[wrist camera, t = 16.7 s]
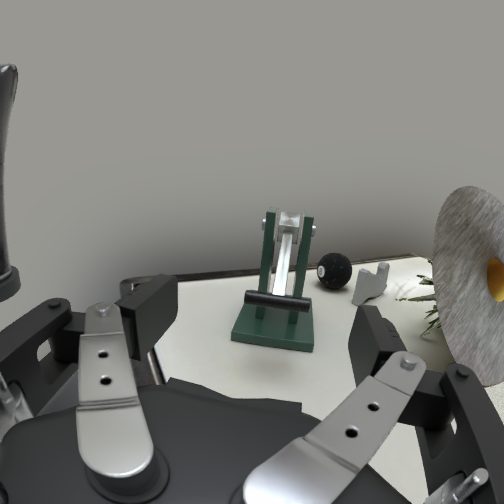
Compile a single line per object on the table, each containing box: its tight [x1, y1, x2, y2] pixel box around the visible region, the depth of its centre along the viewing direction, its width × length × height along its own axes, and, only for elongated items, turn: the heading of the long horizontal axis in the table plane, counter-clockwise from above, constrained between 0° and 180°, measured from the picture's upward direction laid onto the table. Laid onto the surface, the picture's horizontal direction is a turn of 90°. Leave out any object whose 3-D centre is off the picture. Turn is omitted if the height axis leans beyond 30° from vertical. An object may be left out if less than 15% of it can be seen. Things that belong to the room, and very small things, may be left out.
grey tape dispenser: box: [352, 262, 390, 306], centre depth 44 cm, size 6×1×10 cm
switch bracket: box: [231, 207, 316, 352], centre depth 33 cm, size 12×9×14 cm
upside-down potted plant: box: [395, 186, 504, 386], centre depth 30 cm, size 25×18×25 cm
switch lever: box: [244, 211, 311, 313], centre depth 28 cm, size 13×6×2 cm, turn 171°
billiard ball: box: [317, 253, 352, 288], centre depth 47 cm, size 6×6×6 cm
